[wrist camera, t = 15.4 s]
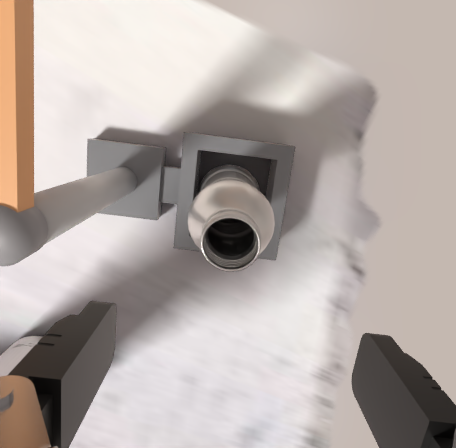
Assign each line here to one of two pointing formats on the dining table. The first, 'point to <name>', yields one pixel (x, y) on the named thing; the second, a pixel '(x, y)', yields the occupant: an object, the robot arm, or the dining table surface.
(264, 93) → the dining table surface
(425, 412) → the robot arm
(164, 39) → the dining table surface
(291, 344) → the dining table surface
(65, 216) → the plug dock
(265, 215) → the plastic bottle
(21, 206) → the slender peach stick
